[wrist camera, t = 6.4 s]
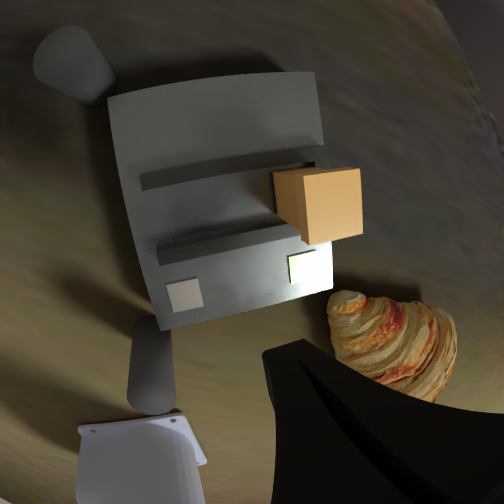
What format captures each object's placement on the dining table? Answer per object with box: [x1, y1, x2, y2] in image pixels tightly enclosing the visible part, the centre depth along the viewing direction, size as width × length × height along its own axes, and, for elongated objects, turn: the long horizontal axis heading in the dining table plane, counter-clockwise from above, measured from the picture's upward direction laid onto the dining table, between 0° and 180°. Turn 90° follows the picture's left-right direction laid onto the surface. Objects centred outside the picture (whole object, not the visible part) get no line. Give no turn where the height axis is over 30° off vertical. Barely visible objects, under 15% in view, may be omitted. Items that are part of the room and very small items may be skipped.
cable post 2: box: [127, 316, 177, 415], centre depth 16 cm, size 2×2×6 cm
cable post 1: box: [33, 26, 117, 106], centre depth 10 cm, size 2×2×6 cm
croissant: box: [327, 290, 457, 403], centre depth 22 cm, size 21×10×8 cm, turn 50°
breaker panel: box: [107, 72, 333, 331], centre depth 15 cm, size 10×12×3 cm
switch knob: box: [273, 167, 363, 246], centre depth 13 cm, size 2×3×4 cm
